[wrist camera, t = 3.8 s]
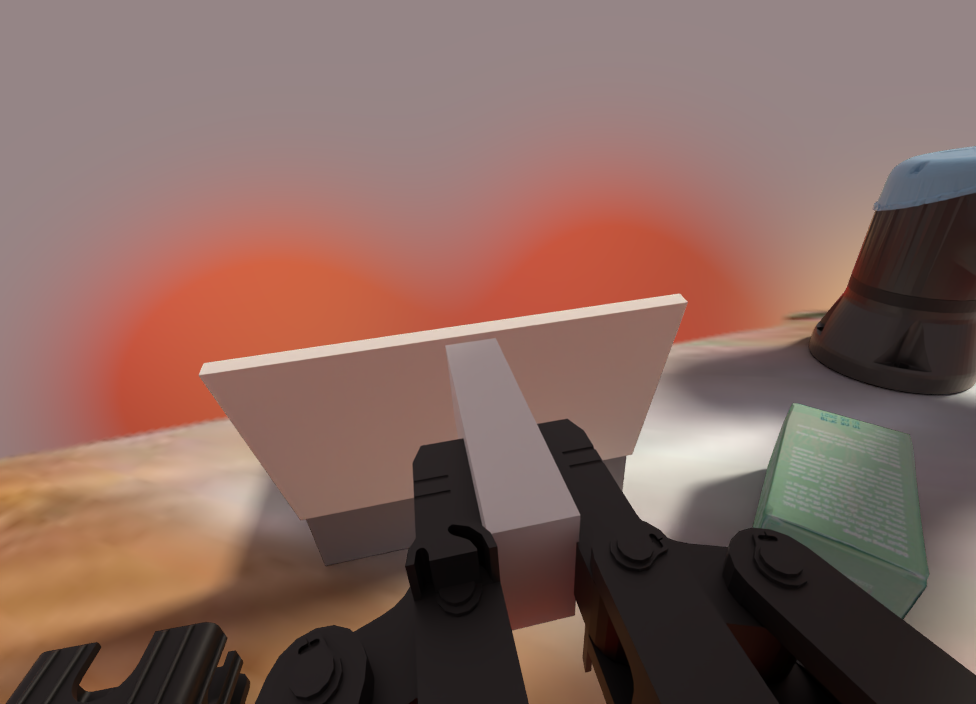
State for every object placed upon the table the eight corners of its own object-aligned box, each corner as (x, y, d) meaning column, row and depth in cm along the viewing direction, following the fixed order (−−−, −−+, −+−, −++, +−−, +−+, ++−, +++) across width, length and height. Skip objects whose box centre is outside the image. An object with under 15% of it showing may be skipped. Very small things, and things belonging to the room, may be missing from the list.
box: (735, 589, 28) (764, 512, 25) (765, 467, 37) (789, 399, 34) (879, 660, 24) (938, 581, 20) (873, 504, 33) (913, 431, 30)
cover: (679, 293, 23) (687, 302, 22) (627, 445, 32) (632, 454, 31) (203, 363, 19) (198, 375, 19) (302, 509, 29) (300, 520, 28)
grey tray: (563, 406, 47) (564, 360, 44) (620, 502, 35) (627, 447, 32) (345, 445, 44) (330, 398, 41) (325, 565, 32) (302, 511, 29)
